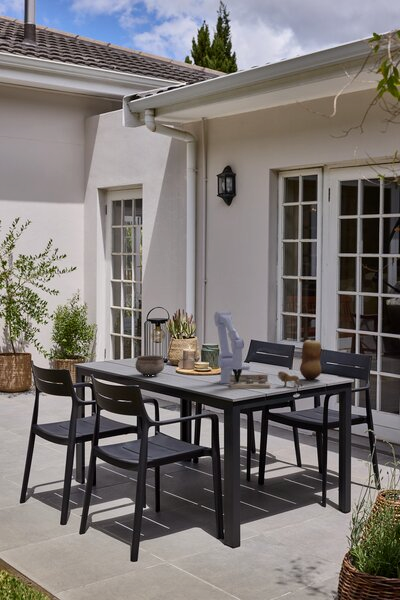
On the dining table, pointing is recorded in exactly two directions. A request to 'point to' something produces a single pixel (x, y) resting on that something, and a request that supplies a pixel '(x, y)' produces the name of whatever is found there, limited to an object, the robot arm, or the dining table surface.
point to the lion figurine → (288, 378)
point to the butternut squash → (311, 359)
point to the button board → (244, 379)
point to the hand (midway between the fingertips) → (237, 382)
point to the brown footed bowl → (149, 364)
